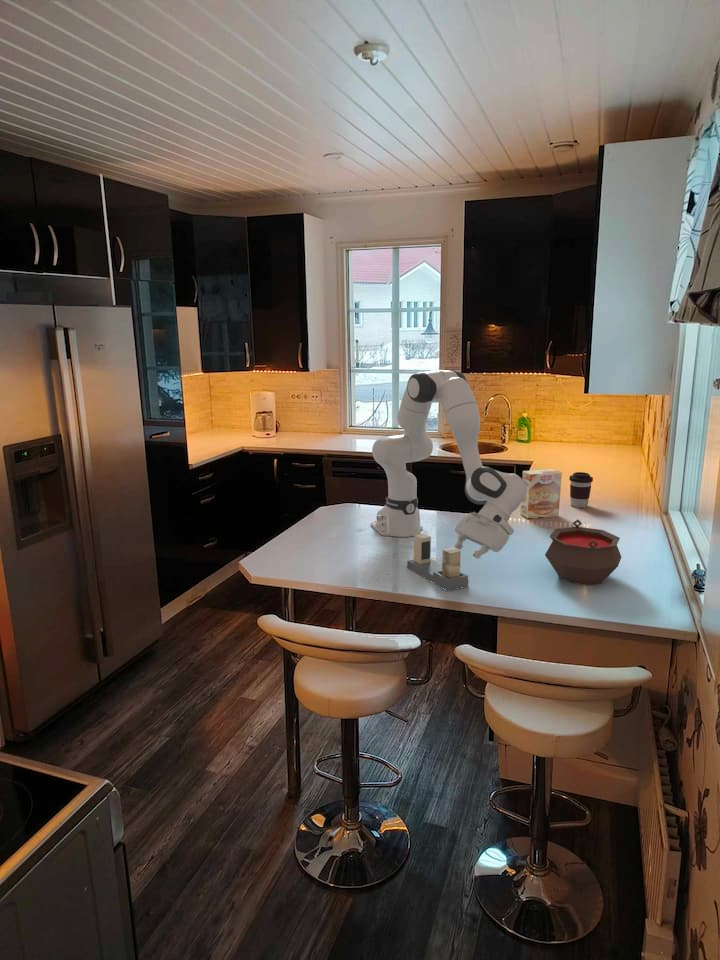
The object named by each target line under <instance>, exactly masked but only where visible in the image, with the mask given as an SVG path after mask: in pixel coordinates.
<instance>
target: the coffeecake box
mask: <svg viewBox="0 0 720 960" xmlns="http://www.w3.org/2000/svg"><path fill="white" fill-rule="evenodd" d="M562 475H563V473H562V472H561V471H559V470H557V469H555V468H551V469H550V468H549V469H535V470H522V477H521V478H522V479H523V480H524V482H525V483H526V485H527V493H526V496H525V497H524V499H523V501H522V502H521V504H520V511H519V512H520V513H519V514H521V516H522V515H523V516H522V517H524V516H525V517H526V518H525V517H524V518H525V519H527V518H532V519H539V518H538V517H544V518H553V517H554V516H556V517H559V514H560V501H561V490H562V489H561V488H562V478H563V477H562Z"/></svg>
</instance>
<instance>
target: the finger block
mask: <svg viewBox="0 0 720 960" xmlns="http://www.w3.org/2000/svg"><path fill="white" fill-rule="evenodd" d="M441 555H442V557H441V559H442V560H441V561H442V562H441V564H442V575H443V576H445V577H446V578H448V579H450V578H455V577H459V576H460V572H461V559H462V558H461V556H462V555H461V550H459V549H457V548H456V547H448V548H444V549H442V554H441Z"/></svg>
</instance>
